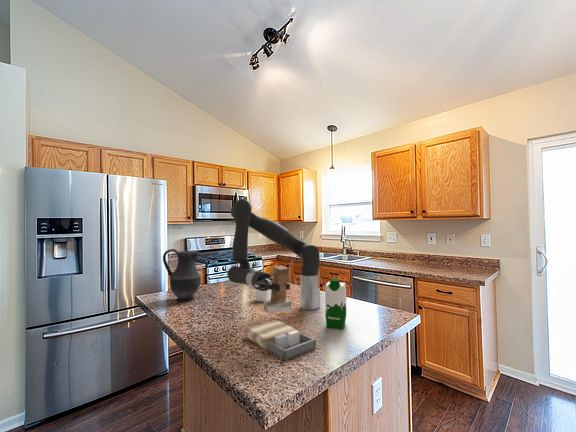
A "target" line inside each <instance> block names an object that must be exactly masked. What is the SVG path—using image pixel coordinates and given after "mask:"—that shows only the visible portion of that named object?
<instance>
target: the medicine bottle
mask: <svg viewBox="0 0 576 432" xmlns="http://www.w3.org/2000/svg"><path fill="white" fill-rule="evenodd" d="M255 301H256V302H263V303H264V302H267V301H271V290H267V291H260V290H257V289H255Z"/></svg>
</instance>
